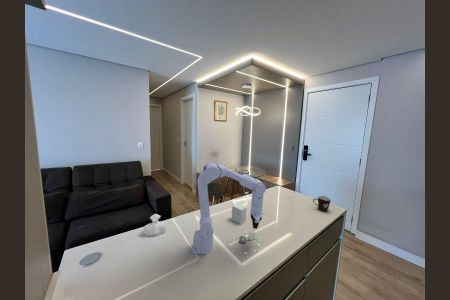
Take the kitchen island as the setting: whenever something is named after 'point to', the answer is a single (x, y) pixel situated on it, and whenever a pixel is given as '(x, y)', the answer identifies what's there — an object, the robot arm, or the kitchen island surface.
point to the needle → (250, 237)
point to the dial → (257, 241)
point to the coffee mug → (323, 203)
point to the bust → (155, 226)
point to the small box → (239, 213)
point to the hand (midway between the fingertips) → (255, 227)
